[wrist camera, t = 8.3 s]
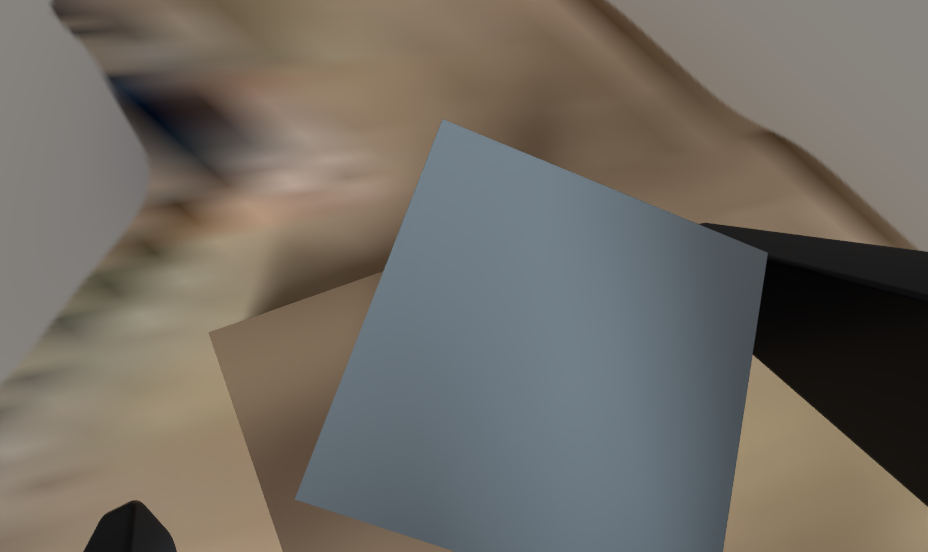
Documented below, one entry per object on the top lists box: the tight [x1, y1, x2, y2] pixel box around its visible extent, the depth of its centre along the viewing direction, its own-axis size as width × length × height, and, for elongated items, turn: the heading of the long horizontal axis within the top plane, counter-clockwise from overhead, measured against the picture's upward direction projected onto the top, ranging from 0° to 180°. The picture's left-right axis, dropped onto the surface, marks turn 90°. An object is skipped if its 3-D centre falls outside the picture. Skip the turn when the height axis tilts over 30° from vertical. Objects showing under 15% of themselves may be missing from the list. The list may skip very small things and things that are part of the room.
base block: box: [209, 271, 455, 552], centre depth 19 cm, size 9×9×4 cm
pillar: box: [295, 119, 768, 552], centre depth 12 cm, size 4×4×11 cm
